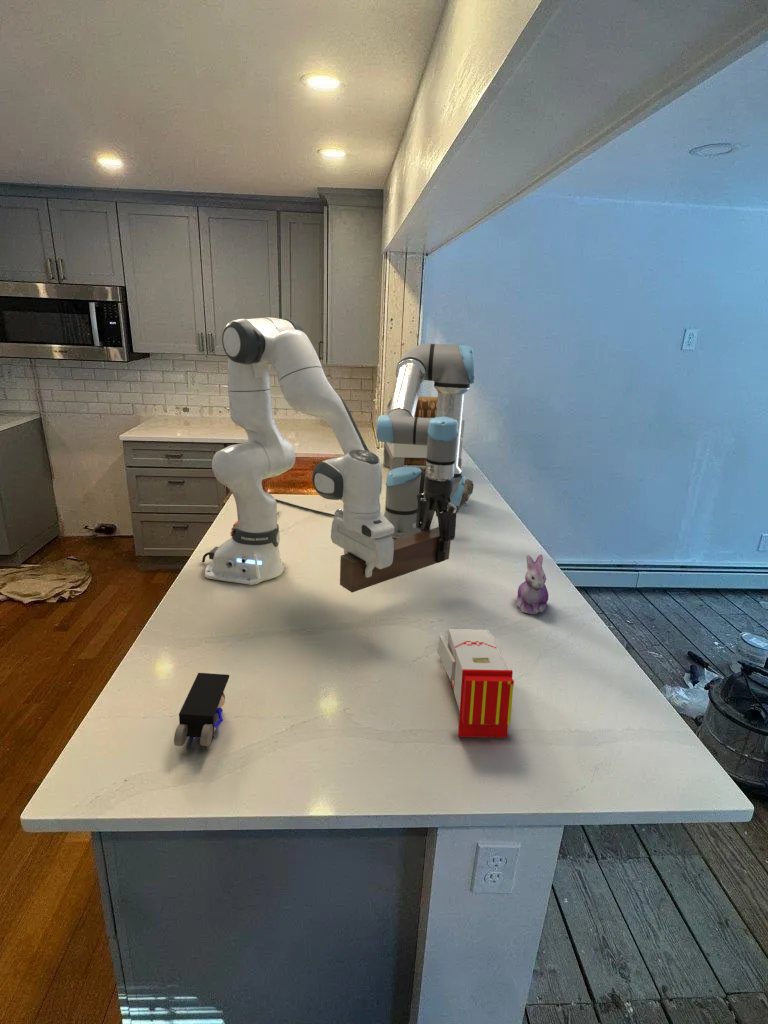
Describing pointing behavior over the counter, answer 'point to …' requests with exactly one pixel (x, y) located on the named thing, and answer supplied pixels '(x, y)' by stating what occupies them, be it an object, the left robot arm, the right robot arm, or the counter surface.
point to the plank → (406, 559)
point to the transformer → (413, 453)
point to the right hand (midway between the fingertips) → (432, 557)
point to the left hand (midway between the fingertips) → (359, 571)
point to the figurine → (533, 588)
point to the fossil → (466, 491)
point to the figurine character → (201, 710)
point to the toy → (478, 682)
